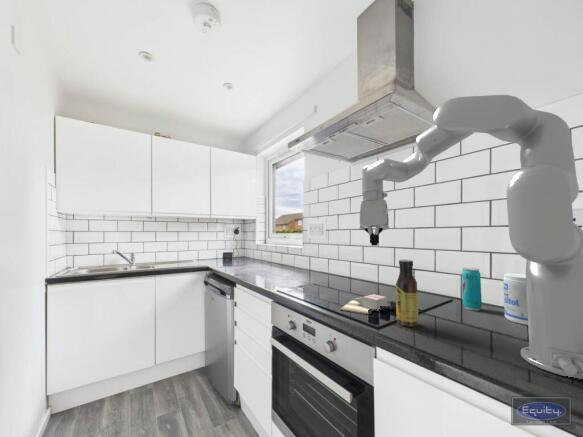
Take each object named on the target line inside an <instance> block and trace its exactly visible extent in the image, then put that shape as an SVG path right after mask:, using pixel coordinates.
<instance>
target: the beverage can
mask: <svg viewBox="0 0 583 437" xmlns="http://www.w3.org/2000/svg"><path fill="white" fill-rule="evenodd" d="M481 283H482V280H481V272H480V268H475V267H462V271H461V289H462V305H463V306H464V309H466V310H469V311H472V312H473V311H475V312H477V311H481V308H482V306H483V304H482V301H483V300H482V288H481V287H482V284H481Z"/></svg>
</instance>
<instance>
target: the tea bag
mask: <svg viewBox="0 0 583 437" xmlns="http://www.w3.org/2000/svg"><path fill="white" fill-rule="evenodd" d="M354 301H357V302H358V303H359V304H360V305H362V306H363V307H366V308H370V309H377V310H376V311H380V310H381V309H380V306H387V307H388V297H387V296H383V295H380V294H379V295H378V294H374V293H373V294H368V295H364V296H361V297H357V298H354ZM379 309H380V310H379Z"/></svg>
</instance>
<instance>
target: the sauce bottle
mask: <svg viewBox="0 0 583 437" xmlns="http://www.w3.org/2000/svg"><path fill="white" fill-rule="evenodd" d="M398 264H399V265H398V266H399V273H398V274H399V275H398V277H397V280H396V283H395V301H396V302H395V303H396V304H395V305H396V307H395V308H396V322H397V323H398V324H399V325H400V326H404V327H410V328H411V327H412V328H415V327H417V326H418V324H419V294H418V293H419V292H418V282H417V279H416V278H415V277H414V272H413V269H414V268H413V267H414V261H413V260H412V259H398Z"/></svg>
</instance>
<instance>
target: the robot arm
mask: <svg viewBox="0 0 583 437" xmlns="http://www.w3.org/2000/svg"><path fill="white" fill-rule="evenodd" d="M432 120H433V123H434V124H433V125H432V126H430V127H429V128H427V129H426V130H424V131H423V132H422V133H420V134H419V135H417V137H416V140H415V141H416V142H415V143H416V146H417V148H416V151H415V152H414V153H413V154H412V155H411V156H409V157H408V158H406V159H404V160H403V161H400V160H394V159H390V158H382V159H380V160H378V161H376V162H374V163H372V164H367V165H365V166H363V167H362V170H361V172H362V173H361V175H362V177H361V178H362V179H361V180H362V182H361V183H362V201H361V202H360V208H359V225H360V226H359V230H360V231H365V232H366V233H367V234H368V235H369V244H371V246H375V247H376V246H378V244H380V241H379V240H380V238H379V237H380V236H379V235H380V234H381V233H382V232H384V231H386V230H389V229H390V226H389V223H390V222H389V220H390V219H389V208H388V204H387V201H386V199H385V198H386V197H388V193H387V192H384V181H387V182H392V183H397V184H398V183H404V182H406V181H409V180H410V179H412V178H414V177H415V176H418V175H419V174H421V173H422V172H423V171H424V170H425V169H426V168H427V167H428V166H429V165H430V164H431V162H432V160H434V158H435V157H437V156H439V155H440V154H441V153H444V152H445V151H446V150H449V149H450V148H452V147H453V146H455V145H457V144H458V143H461V142H462V141H464V140H465V139H467V138H469V137H470V136H472V135H474V134H475V133H478V134H488V135H489V136H491V137H493V138H495V139H498V140H499V141H503V142H508V143H514V144H517V145H519V147H520V152H519V161H520V170H518V171H517V172H516V173H514V174H513V175H512V177H510V180H509V181H508V184H507V189H506V207H507V224H508V234H509V241H510V245H511V247H512V248H513V250H514V251H515V252H516V254H518V255H519V256H520V257H521V258H523V259H525V274H526V296H527V313H528V325H527V326H528V342H529V343H528V344H529V345H528V346H524V347H522V348H521V349H520V356H521V357H522V359H523V360H525V361H526V362H527V363H529V364H530V365H532V366H535V367H536V368H539V369H541V370H544V371H546V372H550V373H552V374H555V375H559V376H563V377H566V376H568V377H567V378H570V377H574V378H573V379H575V378H578V379H577V380H581V379H583V229H582V228H581V227H580V226H578V225H577V224H576V223H575V222H574V213H573V204H574V203H575V201H576V199H577V198H578V195H579V191H580V190H579V188H580V187H579V183H578V177H577V170H576V162H575V160H576V159H575V153H574V149H573V148H574V147H573V140H572V133H571V130H570V126H569V125H568V123H567V122H566V121H565V120H564V119H563V118H562V117H560V116H559V115H556V114H555V113H553V112H547V111H543V110H542V111H541V110H537V109H534V108H532V107H531V106H530V105H528V104H527V103H526V102H524V101H523V100H522V99H521V98H519V97H517V96H515V95H510V94H492V95H491V94H489V95H487V94H486V95H470V96H469V95H468V96H457V97H454V98H453V97H452V98H449V99H448V100H445V101H444V102H443V103H441V104H440V105H439V106H438V107H437V108H436V110H435V112H434V113H433V119H432ZM374 228H375V231H374V230H373V229H374Z"/></svg>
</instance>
